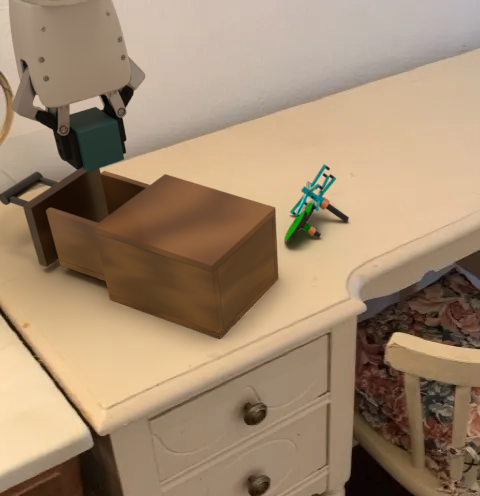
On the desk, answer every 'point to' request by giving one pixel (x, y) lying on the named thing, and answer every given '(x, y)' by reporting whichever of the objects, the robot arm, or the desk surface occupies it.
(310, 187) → the stick construction toy
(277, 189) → the desk surface
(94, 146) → the block
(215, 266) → the cabinet
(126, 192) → the drawer
